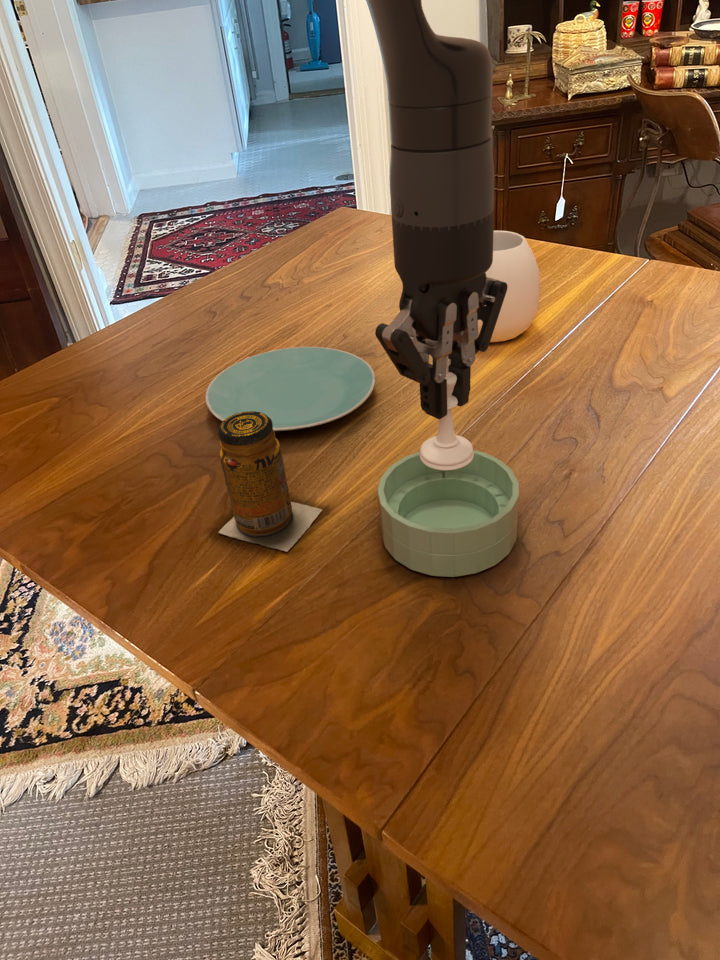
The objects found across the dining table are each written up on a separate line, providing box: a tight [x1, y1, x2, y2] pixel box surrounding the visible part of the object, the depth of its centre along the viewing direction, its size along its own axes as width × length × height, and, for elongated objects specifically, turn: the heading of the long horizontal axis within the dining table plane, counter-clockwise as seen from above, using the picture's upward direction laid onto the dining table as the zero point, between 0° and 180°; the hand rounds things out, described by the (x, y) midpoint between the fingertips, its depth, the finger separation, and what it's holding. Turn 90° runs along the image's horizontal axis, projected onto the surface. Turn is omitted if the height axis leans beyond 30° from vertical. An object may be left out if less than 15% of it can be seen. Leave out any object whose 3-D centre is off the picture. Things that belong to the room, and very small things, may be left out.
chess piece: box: [419, 356, 474, 470], centre depth 64 cm, size 5×5×10 cm
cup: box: [478, 230, 541, 343], centre depth 104 cm, size 13×13×14 cm
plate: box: [204, 346, 376, 432], centre depth 96 cm, size 22×22×3 cm
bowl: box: [376, 449, 520, 578], centre depth 71 cm, size 13×13×6 cm
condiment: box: [217, 411, 323, 553], centre depth 73 cm, size 7×8×12 cm
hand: (446, 407), depth 64 cm, fingers closed on chess piece
